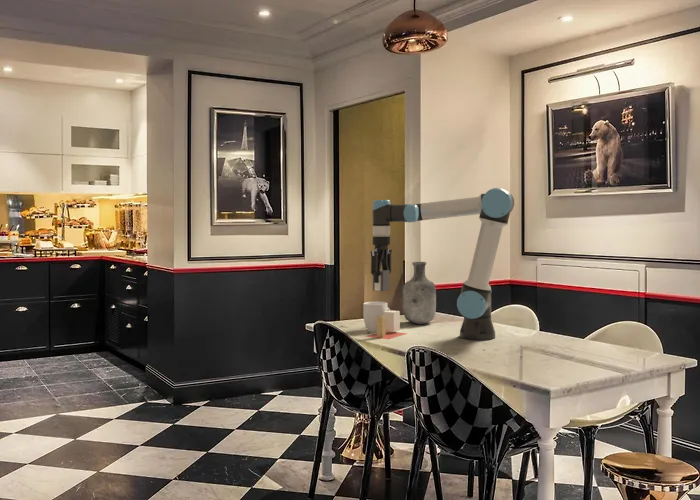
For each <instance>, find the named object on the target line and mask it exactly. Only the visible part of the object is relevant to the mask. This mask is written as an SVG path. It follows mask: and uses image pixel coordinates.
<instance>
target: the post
mask: <svg viewBox="0 0 700 500" xmlns="http://www.w3.org/2000/svg"><path fill="white" fill-rule="evenodd" d="M376 333H377V338H376V339H382V338H384V337H386V327H385V316H378V317H377V332H376Z"/></svg>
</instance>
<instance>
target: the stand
mask: <svg viewBox="0 0 700 500" xmlns="http://www.w3.org/2000/svg"><path fill="white" fill-rule="evenodd" d="M384 316H385V327H386V337H384V338H381V339H384V340H390V339H394V338H397V337H401V336H404V335H407V334H408V333H407V332H399V331H400V330H401V317H400V316H401V312H400V310H392V309H390V310H389V311H388V310H387V311H385V312H384ZM365 338H373V339H374V338H376V339H378V338H377V332H375V333H372V334H370V335H366V336H365Z"/></svg>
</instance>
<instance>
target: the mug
mask: <svg viewBox="0 0 700 500" xmlns="http://www.w3.org/2000/svg"><path fill="white" fill-rule="evenodd" d="M362 306H363V307H362V308H363V313H362V315H363V322H364V326H365V328H366V330H367V331H368V332H370V333H377V317H378V316H384V312H385V311H389V310H391V309H390V308H389V307H388V302H386V301H366V302H363V305H362Z"/></svg>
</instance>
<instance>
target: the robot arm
mask: <svg viewBox="0 0 700 500" xmlns="http://www.w3.org/2000/svg"><path fill="white" fill-rule="evenodd" d="M372 202H373V203H372V209H371V211H372V235H373V236H372V245H373V246H374V249H373V250H371V251H370V259H371V260H370V261H371V263H370V274H371V275H372V276H373V275H374V282H375V290H376V291H375V292H382V291H381V275H380V270H390V274H391V273H392V252H393V251H392V249H389V246H390V245H391V237H390V235H391V223H417V222H420V221H428V220H439V219H447V218H456V217H468V216H476V215H479V216H478V219H479V221H480V222H481V224H480V229H479V232H478V237H477V240H476V244H475V248H474V253H473V257H472V260H471V261H472V262H471V266H470V269H469V274H468V278H467V279H466V280H465V281H463V283H462V287H461V291H460V294H459V296H458V298H457V299H456V308H457V310H458V312H459V313H460V314H461V315H462V316H463V321H462V324H461V327H460V330H459V338H461V339H464V340H465V339H466V340H474V341H475V340H476V341H477V340H478V341H480V340H481V341H484V340H485V341H486V340H493V339H495V338H496V331H495V327H494V325H493V322H492V321H493V320H492V292H493V291H492V287H491V285H490V284H489V283H490V279H491V275H492V271H493V267H494V263H495V261H496V255H497V252H498V247H499V245H500V240H501V235H502V231H503V228H504V227H506V226H507V225H508V223H509V219H510V215H511V213H512V211H513V210H514V207H515V198H514V197H513V195H512V193H511V192H510V191H508V190H507V189H505V188H501V187H493V188H490V189H489V190H487V191H486V192H485V193H480V194H479V195H478V196H473V197H465V198H455V199H448V200H447V199H446V200H439V201H430V202H423V203H413V204H411V203H408V204H407V203H406V204H403V203H402V204H392V203H391V201H390V199H374V200H373V201H372ZM381 268H382V269H381Z"/></svg>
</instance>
